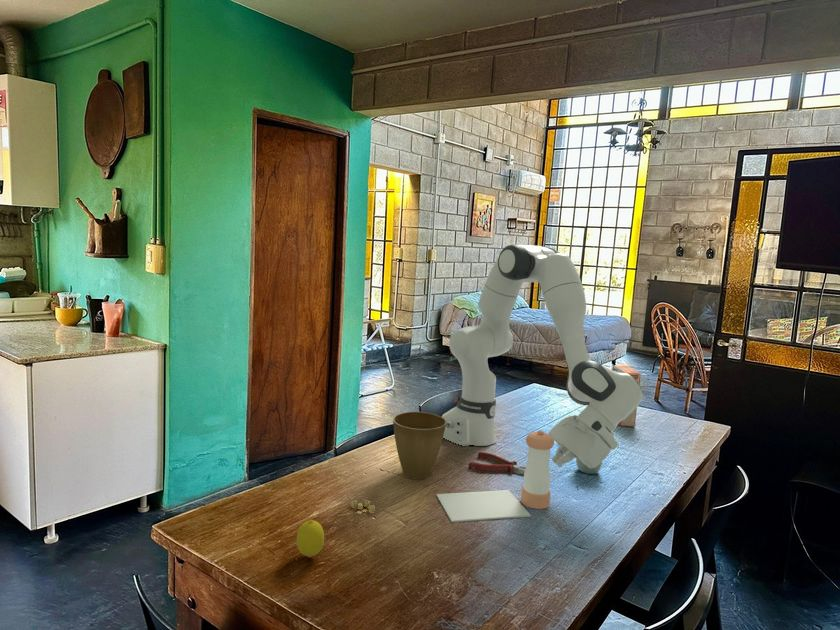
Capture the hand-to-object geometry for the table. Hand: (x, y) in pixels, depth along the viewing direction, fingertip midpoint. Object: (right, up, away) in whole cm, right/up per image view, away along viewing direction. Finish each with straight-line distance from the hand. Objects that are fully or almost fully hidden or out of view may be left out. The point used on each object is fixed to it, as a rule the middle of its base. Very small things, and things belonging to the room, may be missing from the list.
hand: (555, 463), depth 143 cm
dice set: (-49, -10, -8) cm, 50 cm away
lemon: (-57, -11, -30) cm, 66 cm away
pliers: (-11, -8, +20) cm, 24 cm away
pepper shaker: (-5, -10, 0) cm, 12 cm away
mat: (-19, -10, -3) cm, 22 cm away
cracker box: (+44, -3, +74) cm, 86 cm away
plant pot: (-36, -7, +14) cm, 39 cm away
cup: (+15, -9, +22) cm, 28 cm away
